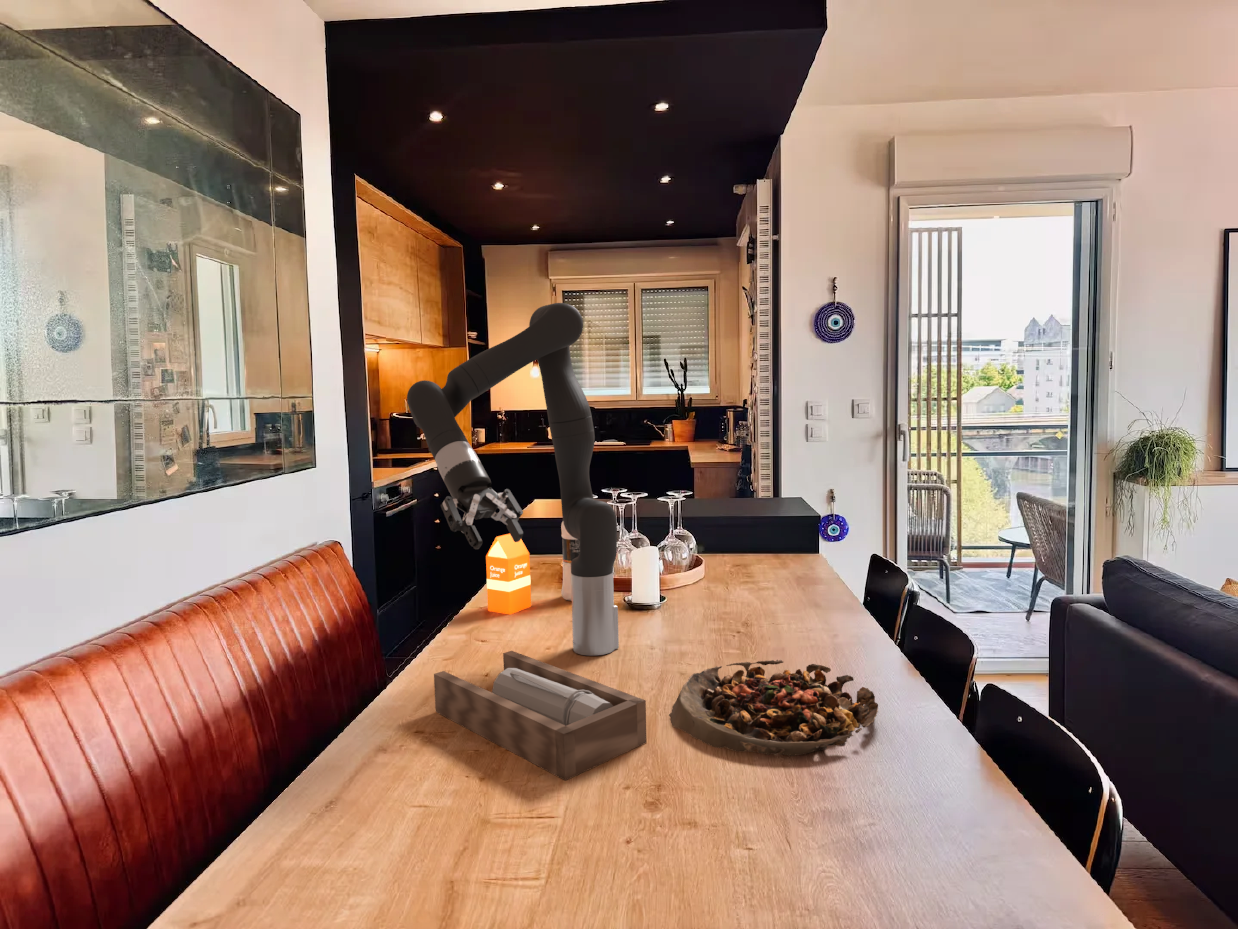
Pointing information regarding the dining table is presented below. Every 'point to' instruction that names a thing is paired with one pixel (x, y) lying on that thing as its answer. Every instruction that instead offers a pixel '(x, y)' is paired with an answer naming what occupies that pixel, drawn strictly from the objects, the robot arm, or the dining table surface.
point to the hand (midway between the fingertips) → (499, 542)
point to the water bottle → (547, 696)
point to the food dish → (771, 710)
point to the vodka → (568, 560)
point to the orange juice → (508, 576)
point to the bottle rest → (545, 720)
